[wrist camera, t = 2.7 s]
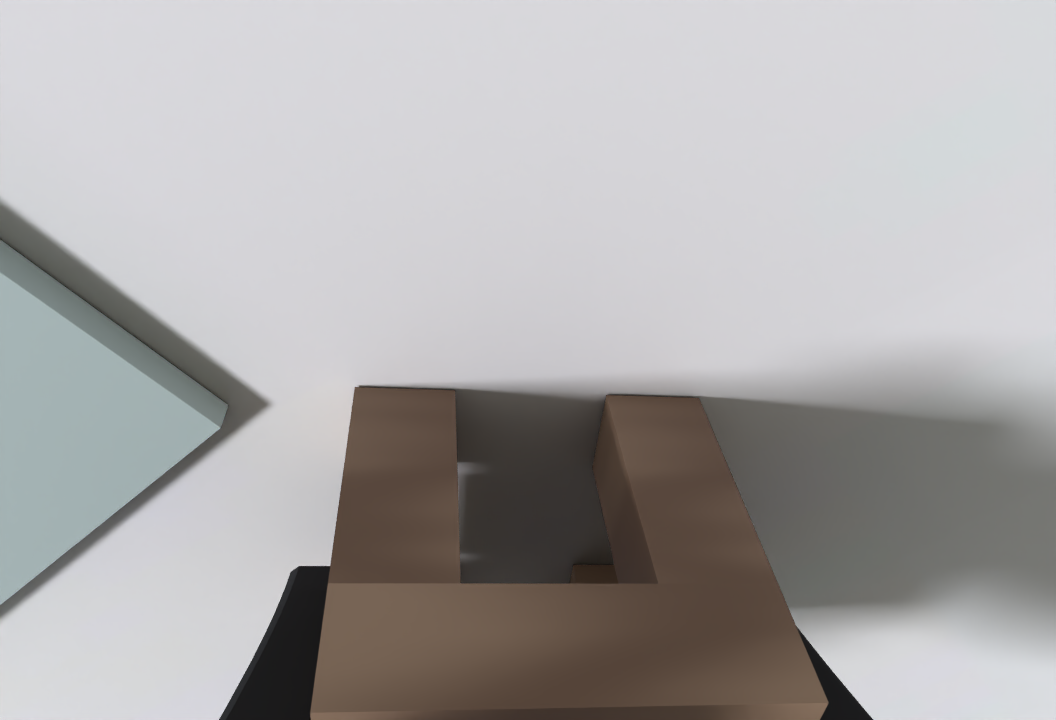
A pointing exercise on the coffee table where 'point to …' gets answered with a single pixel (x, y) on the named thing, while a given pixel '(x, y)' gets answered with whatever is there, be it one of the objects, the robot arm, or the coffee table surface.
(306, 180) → the coffee table surface
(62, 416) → the sage board
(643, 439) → the walnut stool
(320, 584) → the robot arm
